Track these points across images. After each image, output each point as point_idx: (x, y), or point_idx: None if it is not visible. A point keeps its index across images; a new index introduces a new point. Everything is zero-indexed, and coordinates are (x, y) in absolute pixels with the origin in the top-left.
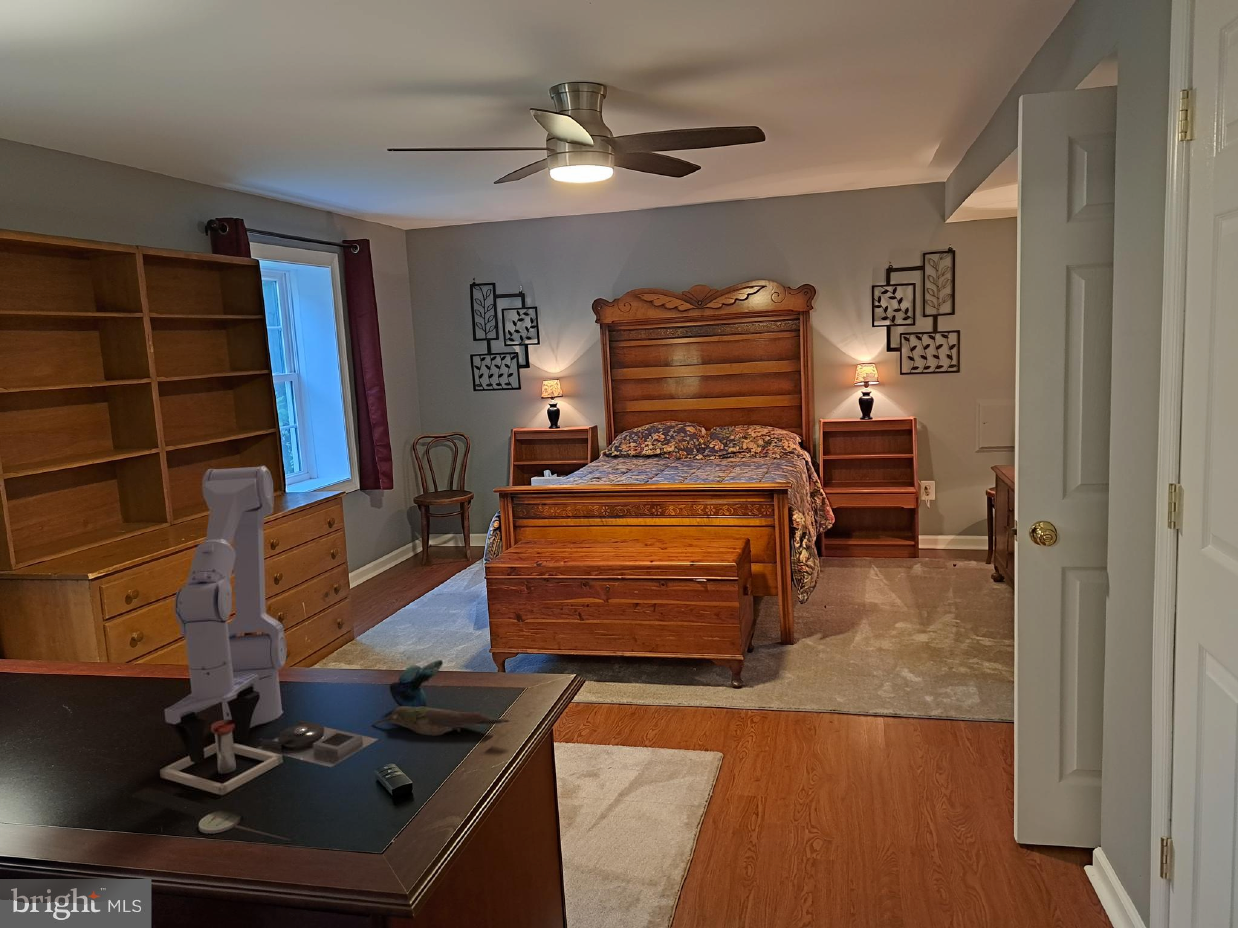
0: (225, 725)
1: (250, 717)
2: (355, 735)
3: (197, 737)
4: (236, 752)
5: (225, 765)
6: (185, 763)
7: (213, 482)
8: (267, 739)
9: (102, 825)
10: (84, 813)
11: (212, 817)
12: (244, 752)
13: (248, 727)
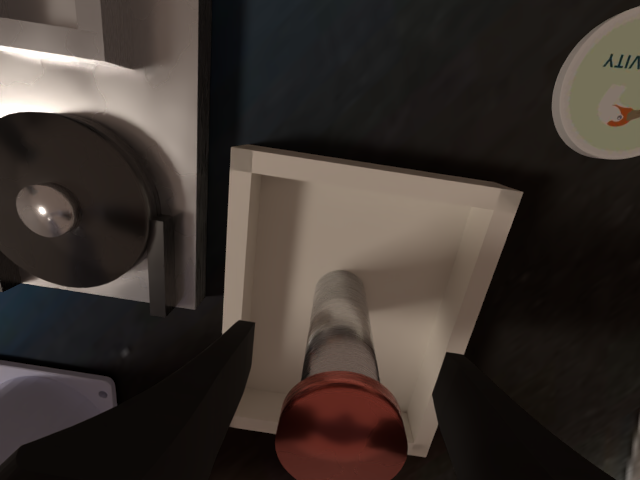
0: (355, 423)
1: (183, 375)
2: None
3: (573, 458)
4: None
5: (363, 299)
6: None
7: None
8: (150, 300)
9: (625, 405)
10: None
11: (620, 126)
12: (244, 316)
13: (218, 346)
